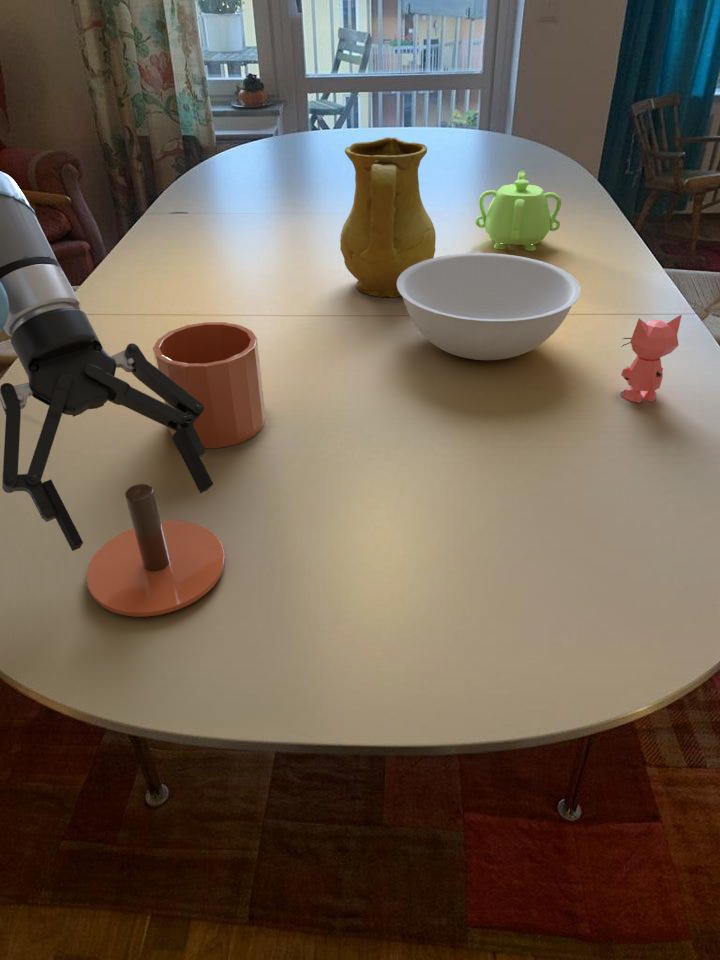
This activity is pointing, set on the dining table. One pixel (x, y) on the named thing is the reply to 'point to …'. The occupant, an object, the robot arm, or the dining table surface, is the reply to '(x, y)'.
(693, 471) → the dining table surface
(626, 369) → the cat figurine
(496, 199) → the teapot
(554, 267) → the bowl
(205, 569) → the lid
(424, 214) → the pitcher
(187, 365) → the jar
